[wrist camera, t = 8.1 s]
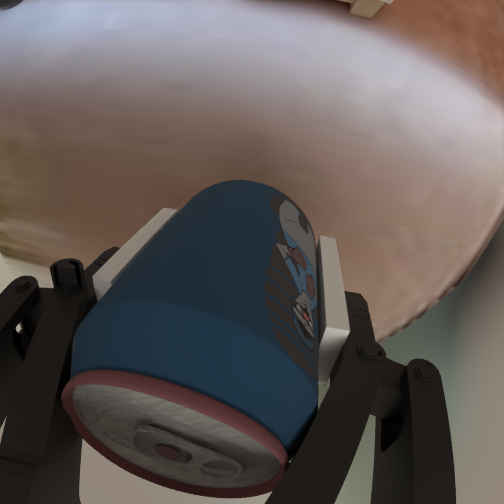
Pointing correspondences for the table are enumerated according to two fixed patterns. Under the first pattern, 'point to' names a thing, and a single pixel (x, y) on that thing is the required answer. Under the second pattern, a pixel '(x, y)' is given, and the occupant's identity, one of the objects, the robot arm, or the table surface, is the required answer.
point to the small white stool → (365, 6)
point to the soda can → (206, 348)
